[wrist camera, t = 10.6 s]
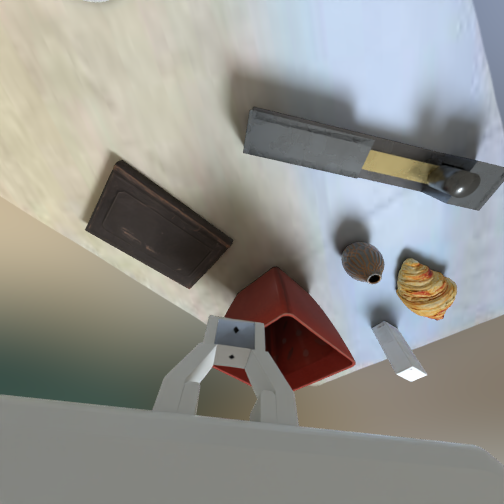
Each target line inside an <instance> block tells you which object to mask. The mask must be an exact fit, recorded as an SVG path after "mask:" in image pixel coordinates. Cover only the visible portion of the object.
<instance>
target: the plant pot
mask: <svg viewBox="0 0 504 504" xmlns="http://www.w3.org/2000/svg"><path fill="white" fill-rule="evenodd" d="M225 318H230V319H236V320H237V319H238V320H246V321H253V322H258V323H264V330H265V351H266V352H268V353H269V354H270V356H271V357H272V359H273V360H274V362H275V364H276V365H277V367H278V368H279V370H280V371H281V373H282V375H283V376H284V378H285V379H286V381H287V382H288V384H289V386H290V387H291V389H292V390H293V391H295V390H298V389H300V388H303V387H305V386H308V385H310V384H312V383H315V382H317V381H320V380H322V379H324V378H327V377H329V376H332V375H334V374H336V373H339V372H341V371H344V370H346V369H349V368H351V367H353V366H354V365H355V363H356V362H355V360H354V358H353V357H352V355H351V353H350V351H349V350H348V348H347V346H346V344H345V343H344V341H343V340H342V338H341V336H340V335H339V333H338V332H337V330H336V329H335V327H334V326H333V324H332V323H331V321H330V320H329V318H328V317H327V316H326V314H325V313H324V311H323V310H322V309H321V308H320V306H319V305H318V304H317V303H316V301H315V300H314V299H313V298H312V297H311V296H310V294H309V293H308V292H306V291H305V290H304V289H303V288H302V287H301V286H299V285H298V284H297V283H296V282H295V281H294V280H293V279H291V278H290V277H289V276H288V275H287V274H286V273H284V272H283V271H282V270H281V269H280V268H278V267H274V268H272V269H270V270H269V271H268V272H266V273H265V274H264V275H262V276H261V277H260V278H258V279H257V280H256V281H254V282H253V283H251V284H250V285H249V286H247V287H246V288H245V289H243V290H242V291H241V292H239V293H238V294H237V296H236V297H235V299H234V301H233V302H232V304H231V306H230V307H229V309H228V311H227V313H226V315H225ZM213 368H215V369H217V370H219V371H221V372H223V373H225V374H227V375H229V376H232V377H234V378H236V379H238V380H240V381H242V382H244V383H246V384H248V385H250V386H252V385H251V383H250V381H249V378H248V376H247V374H246V372H245V369H242V368H236V367H229V366H220V365H213Z"/></svg>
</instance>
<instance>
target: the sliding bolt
mask: <svg viewBox="0 0 504 504" xmlns="http://www.w3.org/2000/svg"><path fill="white" fill-rule="evenodd" d="M362 169H364V170H368V171H373V172H377V173H381V174H386V175H390V176H395V177H399V178H403V179H408V180H412V181H416V182H421V183H425V184H428V185H429V186H430V187H432V188H434V189H437V190H439V191H442V192H444V193H446V194H449V195H451V196H454V197H456V198H463V197H466V196H468V195H470V194H472V193H473V192H474V191H475V190H476V189H477V188H478V186H479V184H480V181H481V179H480V176H479V175H478V174H476V173H472V172H468V171H465V170H461V169H457V168H454V167H450V166H446V165H443V166H438V165H434V164H430V163H426V162H421V161H417V160H413V159H409V158H405V157H401V156H396V155H392V154H388V153H384V152H380V151H376V150H370V152H369V154H368V156H367V158H366V161H365V163H364V165H363V167H362Z"/></svg>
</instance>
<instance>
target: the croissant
mask: <svg viewBox="0 0 504 504" xmlns="http://www.w3.org/2000/svg"><path fill="white" fill-rule="evenodd" d="M397 286H398V289H397V290H396V293H397V295H398V296H399V298H400V299H401V300H402V302H403V303H404V304H405V305H406V306H407V307H408V308H409V309H410V310H411V311H413V312H414V313H416V314H417V315H420V316H424V317H428V318H431V319H435V320H439V319H443V318H444V314H445V312H446V310H447V309H448V308H449V307H450V306H451V305H452V303H453V301H454V300H455V296H456V294H457V286H456V284H455V282H453V281H452V280H451V279H450V278H447V277H444V276H443V275H442V274H441V273H440V272H437V271H436V272H435V271H433V270H431V269H430V268H429V267H428V266H426V265H422V264H420V263H419V262H418V261H416V260H414V259H412V258H408V259H406V260H405V261H404V262H403V264H402V267H401V269H400V271H399V274H398V280H397Z"/></svg>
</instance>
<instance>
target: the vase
mask: <svg viewBox="0 0 504 504" xmlns="http://www.w3.org/2000/svg"><path fill="white" fill-rule="evenodd" d="M342 265H343V268H344V269H345V271H346V272H347V274H348V275H349V276H351V277H352V278H354V279H355V280H358V281H362V282H367V283H369V284H376V283H378V282H380V281H381V279H382V272H383V270H384V259H383V257H382V255H381V253H380V252H379V250H378V249H377V248H375V247H374V246H373V245H371V244H369V243H365V242H356V243H353V244H350V245H349V246H348V247H346V248H345V250H344V251H343V253H342Z"/></svg>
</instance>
